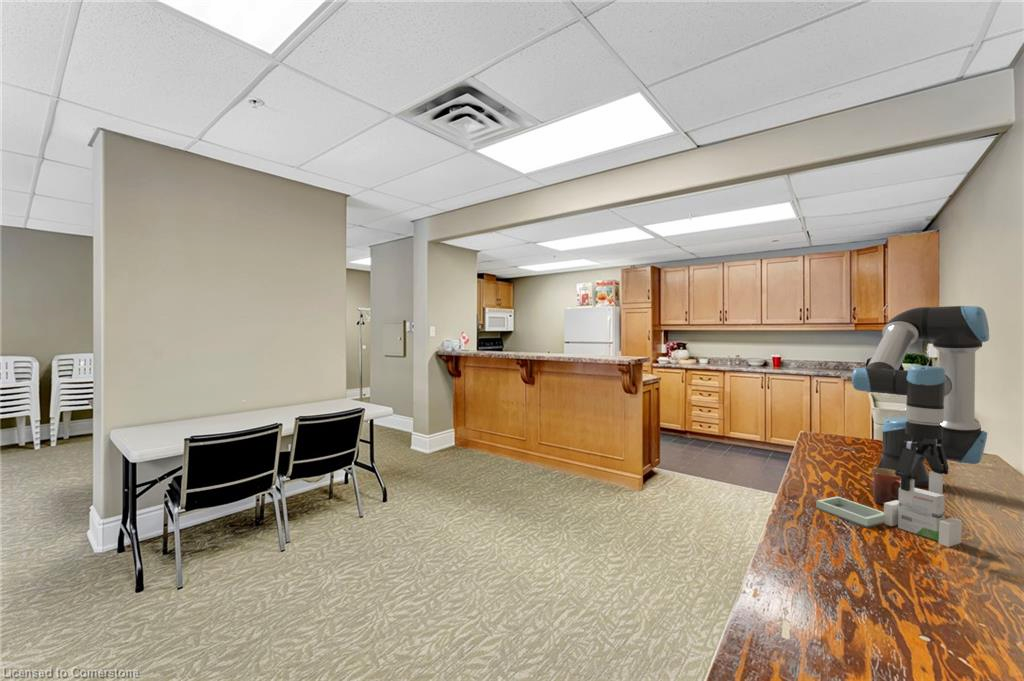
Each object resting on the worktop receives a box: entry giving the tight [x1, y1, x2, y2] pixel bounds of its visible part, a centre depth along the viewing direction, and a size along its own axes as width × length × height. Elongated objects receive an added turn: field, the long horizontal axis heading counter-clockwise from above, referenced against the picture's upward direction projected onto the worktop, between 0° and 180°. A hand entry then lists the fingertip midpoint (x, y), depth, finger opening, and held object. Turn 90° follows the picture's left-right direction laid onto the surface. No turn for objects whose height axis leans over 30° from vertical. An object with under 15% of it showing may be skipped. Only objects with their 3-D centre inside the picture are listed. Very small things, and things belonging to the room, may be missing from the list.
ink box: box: [897, 487, 946, 542], centre depth 119 cm, size 9×5×12 cm, turn 26°
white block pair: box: [883, 500, 963, 548], centre depth 119 cm, size 6×14×6 cm, turn 22°
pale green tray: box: [815, 495, 885, 529], centre depth 130 cm, size 10×14×3 cm
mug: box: [870, 467, 901, 506], centre depth 137 cm, size 12×9×10 cm
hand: (921, 499), depth 119 cm, fingers open, 13 cm apart
